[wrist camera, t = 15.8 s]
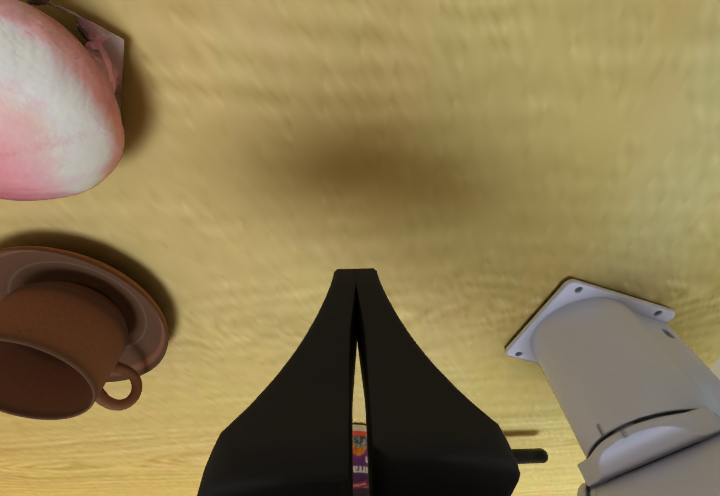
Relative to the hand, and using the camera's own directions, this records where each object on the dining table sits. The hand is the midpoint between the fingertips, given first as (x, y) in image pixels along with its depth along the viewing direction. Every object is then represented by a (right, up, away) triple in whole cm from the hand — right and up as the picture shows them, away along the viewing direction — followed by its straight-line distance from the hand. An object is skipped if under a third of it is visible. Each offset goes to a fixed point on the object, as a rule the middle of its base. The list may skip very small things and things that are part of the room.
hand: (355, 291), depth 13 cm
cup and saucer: (-19, -2, +13) cm, 23 cm away
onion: (-13, +9, +5) cm, 17 cm away
